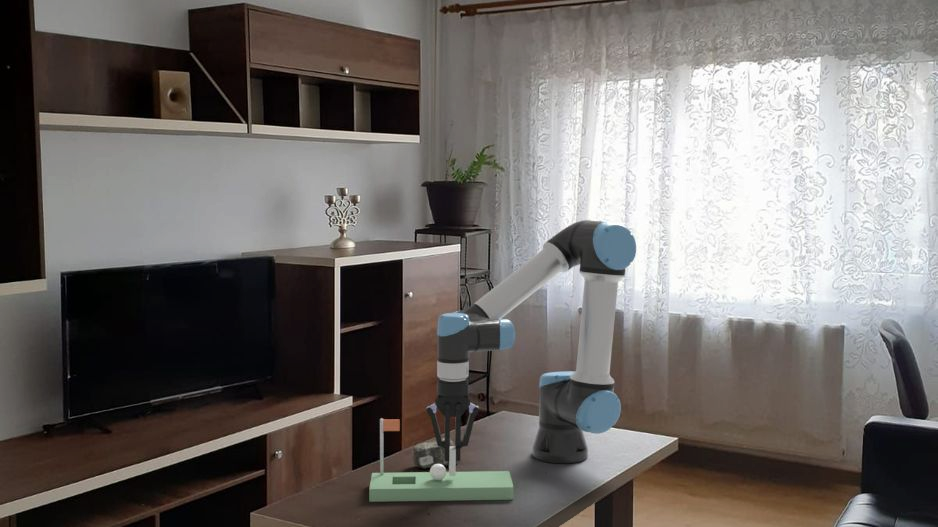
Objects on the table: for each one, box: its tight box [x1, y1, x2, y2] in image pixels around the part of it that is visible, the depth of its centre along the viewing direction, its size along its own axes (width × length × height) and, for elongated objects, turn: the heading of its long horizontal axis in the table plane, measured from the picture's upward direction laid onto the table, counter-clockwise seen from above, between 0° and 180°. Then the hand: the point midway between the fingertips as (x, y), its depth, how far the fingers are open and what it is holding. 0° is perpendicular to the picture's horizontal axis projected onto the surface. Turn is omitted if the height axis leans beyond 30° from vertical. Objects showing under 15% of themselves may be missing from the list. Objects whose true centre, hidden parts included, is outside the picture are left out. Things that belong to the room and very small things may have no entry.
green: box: [368, 418, 515, 503], centre depth 224 cm, size 34×12×17 cm, turn 93°
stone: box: [411, 437, 459, 469], centre depth 246 cm, size 14×7×10 cm, turn 126°
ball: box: [429, 464, 447, 481], centre depth 224 cm, size 4×4×4 cm
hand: (452, 474), depth 225 cm, fingers closed
